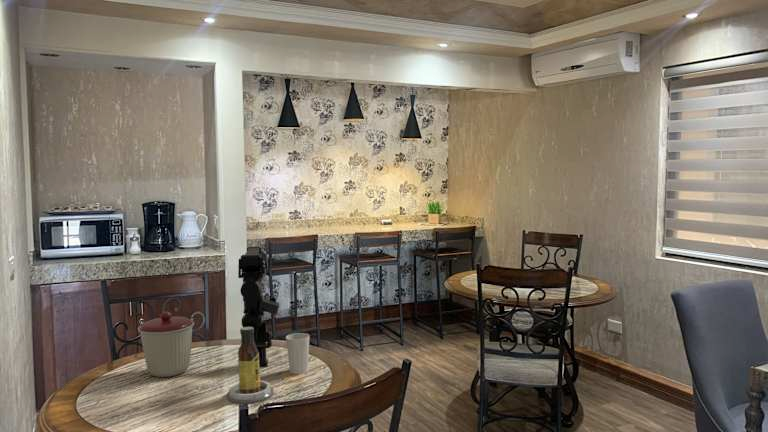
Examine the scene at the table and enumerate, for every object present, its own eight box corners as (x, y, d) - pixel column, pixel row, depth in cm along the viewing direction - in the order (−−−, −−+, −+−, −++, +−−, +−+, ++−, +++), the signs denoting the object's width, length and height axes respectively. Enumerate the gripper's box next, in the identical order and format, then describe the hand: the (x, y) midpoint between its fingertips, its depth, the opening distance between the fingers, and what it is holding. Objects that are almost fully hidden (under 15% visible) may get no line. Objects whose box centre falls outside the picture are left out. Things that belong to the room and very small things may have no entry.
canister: (128, 378, 199) (124, 316, 198) (167, 361, 216) (163, 304, 214) (171, 384, 193) (167, 320, 191) (207, 366, 209) (204, 307, 208)
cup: (288, 367, 206) (286, 333, 205) (311, 366, 207) (309, 332, 206) (286, 375, 198) (284, 340, 197) (310, 374, 199) (309, 339, 198)
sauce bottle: (261, 394, 180) (258, 330, 178) (239, 397, 178) (236, 332, 177) (260, 386, 186) (257, 324, 185) (239, 389, 185) (236, 326, 183)
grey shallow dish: (229, 388, 188) (228, 381, 188) (274, 384, 190) (273, 377, 190) (224, 405, 174) (224, 398, 174) (273, 401, 176) (272, 394, 176)
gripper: (276, 297, 186) (279, 346, 187) (278, 285, 204) (280, 330, 205) (240, 299, 184) (242, 349, 185) (244, 287, 202) (247, 332, 204)
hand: (254, 339), depth 195 cm, fingers open, 9 cm apart
